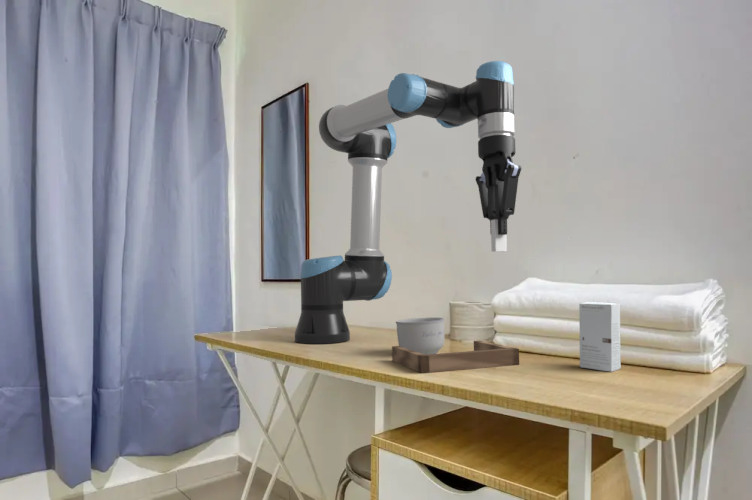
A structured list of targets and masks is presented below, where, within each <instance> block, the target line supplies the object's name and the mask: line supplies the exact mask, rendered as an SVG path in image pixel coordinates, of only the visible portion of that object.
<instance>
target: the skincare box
mask: <svg viewBox="0 0 752 500" xmlns="http://www.w3.org/2000/svg"><path fill="white" fill-rule="evenodd" d="M578 311H579V367H580V368H581V369H582V368H583V369H590V370H597V371H601V372H602V371H604V372H616V371H619V370H620V369H621V367H622V366H621V362H622V361H621V360H622V359H621V304H620V303H614V302H599V301H598V302H597V301H596V302H595V301H593V302H592V301H585V302H580V303H579V310H578Z"/></svg>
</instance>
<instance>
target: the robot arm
mask: <svg viewBox="0 0 752 500" xmlns="http://www.w3.org/2000/svg"><path fill="white" fill-rule="evenodd" d="M475 72H476V76H475V79H476V80H475V81H473V82H471V83H469V84H468V85H464V86H463V87H457V86H454V85H450V84H447V83H443V82H439V81H436V80H432V79H429V78H426V77H422V76H420V75H417V74H414V73H413V74H411V73H406V72H405V73H404V72H400V73H399V74H396V75H395V76H394V78H393V79H391V81H390V83H389V86H388V88H386V89H383V90H382V91H379V92H376V93H375V94H372V95H369V96H367V97H365V98H362V99H360V100H357V101H356V102H355V101H354V102H353V103H350V104H348V105H344V104H338V105H334V106H332V107H330V108H329V109H327V110H326V111H325V112H324V113H322V116H321V117H320V120H319V123H318V131H319V132H318V133H319V136H320V138H321V139H322V141H323V143H324V144H325V145H326V147H327V146H328V147H329V148H330V149H332V150H333V151H337V152H341V153H346V154H347V162H348V164H350V165H351V167H352V177H351V178H352V179H351V181H352V184H351V186H352V187H351V213H350V214H351V215H350V216H351V217H350V244H349V245H350V246H349V249H348V250H347V251H346V252H345V253H344V258H343V255H331V256H323V257H315V258H309V259H305V260H303V261H302V262H301V265H300V266H301V268H300V270H301V271H300V275H299V277H300V306H301V307H300V311H301V312H300V316H299V319H298V322H297V326H296V328H295V331H294V342H296V343H301V344H334V343H342V342H348V341H350V339H351V337H350V336H351V333H350V329H349V325H348V322H347V320H346V317H345V314H344V302H350V301H351V302H352V301H354V302H355V301H356V302H357V301H367V302H368V301H372V300H379V299H381V298H383V297H384V296H385V295H386V294H387V293H388V291H389V290H390V288H391V285H392V278H393V275H392V269H391V266H390V264H389V263H388V262H386V261H385V254H384V253H383V252H382V251H381V250H380V241H381V240H380V236H381V233H380V232H381V206H382V205H381V202H382V201H381V200H382V182H383V181H382V180H383V177H382V175H383V167H385V166H386V165H387V164H388V159H389V158H391V157H392V156H393V154H394V152H395V151H394V150H396V146H397V134H396V133H397V132H396V129H395V127H394V126H393V123H395V122H399V121H401V120H405V119H409V118H413V117H415V116H423V117H427V118H432V119H434V120H436V122H437V123H438V124H440V125H441V126H442V127H443V128H446V129H452V128H457V127H460V126H463V125H465V124H467V123H470V122H472V121H475V120H477V137H478V139H479V140H478V141H477V149H478V150H477V151H478V152H477V155H478V158H479V159H481V160H482V162H483V163H482V167H481V168H482V173H481V174H480V175H479V176H478V175H477V176H476V177H475V182H476V185H477V187H478V193H479V199H480V205H481V206H480V207H481V210H482V215H483V217H482V218H484V219H487V220H488V221H489V222H490V223H489V224H490V225H489V226H490V227H489V228H490V232H489V233H490V240H491V242H490V243H491V252H493V253H494V252H496V253H497V252H500V253H501V252H508V241H507V239H508V238H507V237H508V236H507V235H508V220H509V218H510V216H513V215H514V214H515V210H516V201H517V200H516V199H517V194H518V192H517V191H518V186H519V177H520V176H521V171H522V166H521V165H517V164H515V163H514V161H513V157H514V156H515V155H516V139H515V137H514V136H515V135H516V122H515V121H516V118H515V109H514V108H515V101H514V100H515V97H514V96H515V82H514V73H513V72H514V70H513V67H512V65H510V64H509V63H508V62H505V61H501V60H492V61H491V60H490V61H487V62H484V63H482V64H481V65H479V66H478V68H477V69H476V71H475Z"/></svg>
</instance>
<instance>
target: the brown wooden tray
mask: <svg viewBox="0 0 752 500" xmlns="http://www.w3.org/2000/svg"><path fill="white" fill-rule="evenodd" d="M391 361H392V362H393V363H396V364H397V365H398V364H399V365H402V366H403V367H406V368H408V369H411V370H413V371H416V372H418V373H421V374H427V373H430V374H431V373H438V372H439V373H441V372H450V371H451V372H452V371H460V370H461V371H463V370H472V369H483V368H484V369H485V367H486V368H496V367H505V366H506V367H507V366H519V365H520V349H519V348H516V347H512V346H508V345H502V344H498V343H494V342H493V343H492V342H489V341H483V340H473V350H472V351H471V350H470V351H456V352H443V353H436V354H427V355H425V354H422V353H419V352H416V351H413V350H410V349H407V348H404V347H401V346H399V345H394V346H393V345H391Z"/></svg>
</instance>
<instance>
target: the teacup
mask: <svg viewBox="0 0 752 500" xmlns="http://www.w3.org/2000/svg"><path fill="white" fill-rule="evenodd" d="M444 321H445V319H444V317H432V316H431V317H413V318H404V319H399V320H398V319H397V320H395V324H396V330H397V331H396V334H397V343H398V346H401V347H404V348H407V349H410V350H413V351H416V352H419V353H422V354H425V355H427V354H438V353H439V351H440V350H441V349H442V348H443V347H444V344H445V324H444V323H445V322H444Z"/></svg>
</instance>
